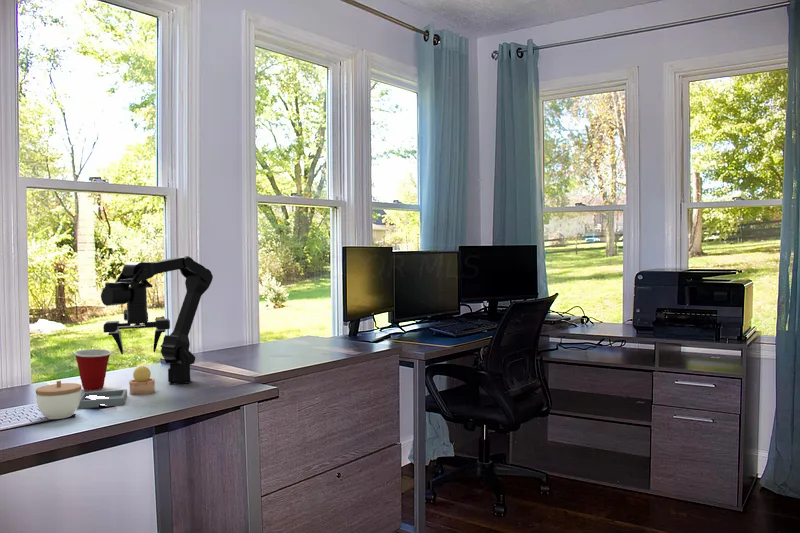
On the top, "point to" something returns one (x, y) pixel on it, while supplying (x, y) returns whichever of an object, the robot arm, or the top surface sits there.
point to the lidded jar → (58, 399)
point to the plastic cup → (92, 367)
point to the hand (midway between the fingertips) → (138, 353)
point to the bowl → (142, 387)
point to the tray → (114, 399)
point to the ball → (141, 374)
